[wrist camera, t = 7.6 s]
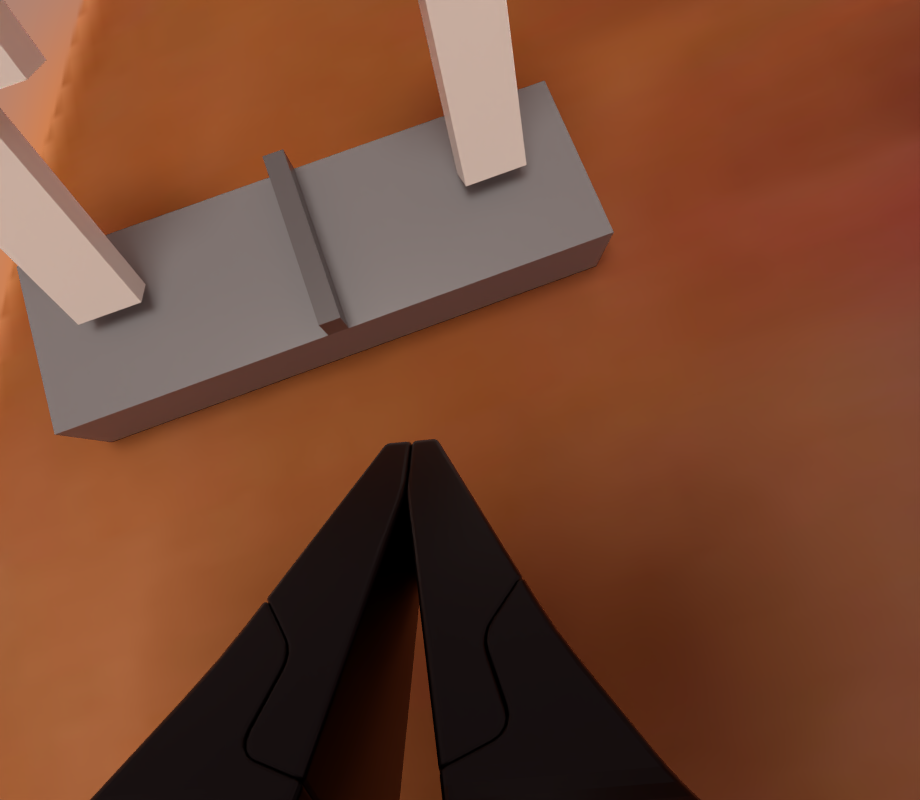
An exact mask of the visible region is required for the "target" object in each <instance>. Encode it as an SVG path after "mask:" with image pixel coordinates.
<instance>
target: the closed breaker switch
mask: <svg viewBox="0 0 920 800" xmlns="http://www.w3.org/2000/svg"><path fill="white" fill-rule="evenodd" d="M45 61H46V59H45V58H44V56H43V55H42V53H41V52H40V50H39V49H38V48H37V46H36V45H35V43H34V42H33V41H32V39H31V38H30V36H29V35H28V34H27V33H26V31H25V29H24V28H23V27H22V25H21V24H20V22H19V21H18V20H17V18H16V17H15V15H14V14H13V13H12V11H11V10H10V8H9V7H8V6H7V4H6V3H5V1H4V0H0V89H2V88H5V87H8V86H10V85H13V84H16V83H19V82H22V81H25V80H27V79H28V78H29V77H30V76H31V75H32V74H33V73H34V72H35V71H36V70H37V69H38V68H39V67H40V66H41V65H42V64H43V63H44V62H45ZM0 248H1V249H2V250H3V251H4V252H5V253H6V254H7V255H8V256H9V257H10V258H11V259H12V260H13V261H14V262H15V263H16V264H17V265H18V266H19V267H20V268H21V269H22V270H23V271H24V272H25V273H26V274H27V275H28V276H29V277H30V278H31V279H32V280H33V281H34V282H35V283H36V284H37V285H38V286H39V287H40V288H41V289H42V290H43V291H44V292H45V293H46V294H47V295H48V296H49V297H50V298H51V299H52V300H53V301H54V302H55V303H57V304H58V305H59V306H60V307H61V308H62V309H63V310H64V311H65V312H66V313H67V314H68V315H69V316H70V317H71V318H72V319H73V320H74V321H75V322H76V323H77V324H78V325H79V324H82V323H85V322H88V321H90V320H93V319H96V318H99V317H102V316H104V315H107V314H110V313H113V312H116V311H118V310H121V309H124V308H127V307H130V306H132V305H135V304H138V303H141V302H142V298H143V293H144V289H145V285H146V284H145V283H144V282H143V281H142V279H141V278H140V277H139V276H138V275H137V273H136V272H135V271H134V270H133V269H132V267H131V266H130V265H129V264H128V262H127V261H126V260H125V259H124V258H123V256H122V255H121V254H120V253H119V252H118V250H117V249H116V248H115V247H114V245H113V244H112V243H111V242H110V241H109V239H108V238H107V237H106V236H105V235H104V233H103V232H102V231H101V230H100V228H99V227H98V226H97V225H96V224H95V222H94V221H93V220H92V219H91V218H90V216H89V215H88V214H87V213H86V211H85V210H84V209H83V208H82V207H81V205H80V204H79V203H78V202H77V201H76V199H75V198H74V197H73V196H72V194H71V193H70V192H69V191H68V190H67V188H66V187H65V186H64V185H63V184H62V182H61V181H60V180H59V179H58V177H57V176H56V175H55V174H54V173H53V171H52V170H51V169H50V168H49V167H48V165H47V164H46V163H45V162H44V160H43V159H42V158H41V157H40V156H39V154H38V153H37V152H36V151H35V150H34V149H33V147H32V146H31V145H30V143H29V142H28V141H27V140H26V139H25V138H24V136H23V135H22V134H21V133H20V131H19V130H18V129H17V128H16V127H15V125H14V124H13V123H12V122H11V121H10V119H9V118H8V117H7V116H6V114H5V113H4V112H3V111H2V110H1V108H0Z"/></svg>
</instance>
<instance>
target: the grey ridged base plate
mask: <svg viewBox="0 0 920 800" xmlns="http://www.w3.org/2000/svg"><path fill="white" fill-rule="evenodd" d="M517 91H518V99H519V108H520V116H521V124H522V132H523V140H524V148H525V157H526V165H525V166H522V167H519V168H516V169H514V170H511V171H508V172H505V173H502V174H500V175H497V176H494V177H491V178H488V179H486V180H483V181H480V182H477V183H474V184H472V185H469V186H465V184H464V183H463V181H462V180H461V178H460V177H459V175H458V174H457V170H456V166H455V161H454V157H453V153H452V148H451V144H450V139H449V135H448V130H447V126H446V122H445V117H444V116H443V117H440V118H437V119H434V120H431V121H429V122H426V123H423V124H420V125H417V126H414V127H412V128H409V129H406V130H403V131H400V132H397V133H395V134H392V135H389V136H386V137H383V138H380V139H377V140H375V141H372V142H369V143H366V144H363V145H360V146H358V147H355V148H352V149H349V150H346V151H343V152H341V153H338V154H335V155H332V156H329V157H326V158H324V159H321V160H318V161H315V162H312V163H309V164H306V165H304V166H301V167H298V168H295V169H294V168H293V166H292V164H291V163H290V161H289V159H288V157H287V156H286V154H285V152H284V150H280V151H277V152H274V153H271V154H268V155H265V156H263V159H264V162H265V165H266V168H267V171H268V174H269V177H270V178H267V179H264V180H261V181H258V182H255V183H253V184H250V185H247V186H244V187H241V188H238V189H235V190H233V191H230V192H227V193H224V194H221V195H218V196H216V197H213V198H210V199H207V200H204V201H201V202H199V203H196V204H193V205H190V206H187V207H184V208H182V209H179V210H176V211H173V212H170V213H167V214H165V215H162V216H159V217H156V218H153V219H150V220H147V221H145V222H142V223H139V224H136V225H133V226H130V227H128V228H125V229H122V230H119V231H116V232H113V233H111V234H108V235H105V236H106V237H107V238H108V239H109V241H110V242H111V243H112V244H113V245H114V247H115V248H116V249H117V250H118V252H119V253H120V254H121V255H122V256H123V258H124V259H125V260H126V261H127V262H128V264H129V265H130V266H131V267H132V269H133V270H134V271H135V272H136V273H137V275H138V276H139V277H140V278H141V279H142V281H143V282H144V283H145V284H146V285H145V289H144V293H143V298H142V302H141V303H138V304H135V305H132V306H130V307H127V308H124V309H121V310H118V311H116V312H113V313H110V314H107V315H104V316H102V317H99V318H96V319H93V320H90V321H88V322H85V323H82V324H79V325H78V324H77V323H76V322H75V321H74V320H73V319H72V318H71V317H70V316H69V315H68V314H67V313H66V312H65V311H64V310H63V309H62V308H61V307H60V306H59V305H58V304H57V303H55V302H54V301H53V300H52V299H51V298H50V297H49V296H48V295H47V294H46V293H45V292H44V291H43V290H42V289H41V288H40V287H39V286H38V285H37V284H36V283H35V282H34V281H33V280H32V279H31V278H30V277H29V276H28V275H27V274H26V273H25V272H24V271H23V270H22V269H21V268H20V267H19V266H17V270H18V274H19V279H20V283H21V287H22V292H23V296H24V301H25V305H26V310H27V314H28V318H29V323H30V327H31V332H32V336H33V340H34V345H35V349H36V354H37V358H38V363H39V367H40V371H41V376H42V380H43V385H44V389H45V394H46V398H47V402H48V407H49V411H50V416H51V420H52V424H53V429H54V433H55V435H62V436H69V437H77V438H84V439H92V440H99V441H107V442H113V441H116V440H118V439H121V438H124V437H127V436H129V435H132V434H135V433H138V432H140V431H143V430H146V429H149V428H151V427H154V426H157V425H160V424H162V423H165V422H168V421H171V420H173V419H176V418H179V417H182V416H184V415H187V414H190V413H193V412H195V411H198V410H201V409H204V408H206V407H209V406H212V405H215V404H217V403H220V402H223V401H226V400H228V399H231V398H234V397H237V396H239V395H242V394H245V393H248V392H250V391H253V390H256V389H259V388H261V387H264V386H267V385H270V384H272V383H275V382H278V381H281V380H283V379H286V378H289V377H292V376H294V375H297V374H300V373H303V372H305V371H308V370H311V369H314V368H316V367H319V366H322V365H325V364H327V363H330V362H333V361H336V360H338V359H341V358H344V357H347V356H349V355H352V354H355V353H358V352H360V351H363V350H366V349H369V348H371V347H374V346H377V345H380V344H382V343H385V342H388V341H391V340H393V339H396V338H399V337H402V336H404V335H407V334H410V333H413V332H415V331H418V330H421V329H424V328H426V327H429V326H432V325H435V324H437V323H440V322H443V321H446V320H448V319H451V318H454V317H457V316H459V315H462V314H465V313H468V312H470V311H473V310H476V309H479V308H481V307H484V306H487V305H490V304H492V303H495V302H498V301H501V300H503V299H506V298H509V297H512V296H514V295H517V294H520V293H523V292H525V291H528V290H531V289H534V288H536V287H539V286H542V285H545V284H547V283H550V282H553V281H556V280H558V279H561V278H564V277H567V276H569V275H572V274H575V273H578V272H580V271H583V270H586V269H589V268H591V267H594V266H596V265H597V263H598V261H599V259H600V257H601V255H602V253H603V252H604V250H605V248H606V246H607V244H608V242H609V240H610V238H611V236H612V234H613V230H612V227H611V225H610V223H609V221H608V219H607V217H606V214H605V212H604V210H603V208H602V206H601V203H600V201H599V199H598V197H597V195H596V192H595V190H594V188H593V186H592V184H591V181H590V179H589V177H588V175H587V173H586V170H585V168H584V166H583V164H582V162H581V160H580V157H579V155H578V153H577V151H576V149H575V146H574V144H573V142H572V140H571V138H570V135H569V133H568V131H567V129H566V127H565V124H564V122H563V120H562V118H561V116H560V113H559V111H558V109H557V107H556V105H555V103H554V100H553V98H552V96H551V94H550V92H549V89H548V87H547V85H546V83H545V81H542V82H539V83H536V84H534V85H531V86H528V87H525V88H522V89H519V90H517Z"/></svg>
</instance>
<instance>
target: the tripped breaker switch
mask: <svg viewBox="0 0 920 800" xmlns="http://www.w3.org/2000/svg"><path fill="white" fill-rule="evenodd" d="M418 2H419V7H420V11H421V16H422V20H423V25H424V29H425V33H426V38H427V42H428V47H429V51H430V55H431V60H432V64H433V69H434V73H435V78H436V82H437V86H438V91H439V95H440V100H441V104H442V108H443V113H444V117H445V122H446V126H447V130H448V135H449V139H450V144H451V148H452V153H453V157H454V161H455V166H456V170H457V174H458V175H459V177H460V178H461V180H462V181H463V183H464V184H465V186H469V185H472V184H474V183H477V182H480V181H483V180H486V179H488V178H491V177H494V176H497V175H500V174H502V173H505V172H508V171H511V170H514V169H516V168H519V167H522V166H525V165H526V157H525V148H524V140H523V132H522V124H521V116H520V108H519V99H518V91H517V83H516V75H515V67H514V59H513V50H512V42H511V34H510V26H509V18H508V10H507V2H506V0H418Z"/></svg>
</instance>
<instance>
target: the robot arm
mask: <svg viewBox="0 0 920 800" xmlns="http://www.w3.org/2000/svg"><path fill="white" fill-rule="evenodd" d="M267 601H268V603H269V604H268V603H267V602H265V603H263V604H262V605H261V607H260V608H259V609H258V611H257V612H256V613H255V615H254V616H253V617H252V618H251V620H250V621H249V622H248V624H247V625H246V626H245V627H244V629H243V630H242V631H241V632H240V633H239V635H238V636H237V637H236V638H235V640H234V641H233V642H232V643H231V645H230V646H229V647H228V648H227V650H226V651H225V652H224V653H223V654H222V656H221V657H220V658H219V659H218V660H217V662H216V663H215V664H214V665H213V666H212V667H211V668H210V669H209V671H208V672H207V673H206V674H205V675H204V676H203V677H202V679H201V680H200V681H199V682H198V683H197V684H196V685H195V686H194V688H193V689H192V690H191V691H190V692H189V693H188V694H187V695H186V697H185V698H184V699H183V700H182V701H181V702H180V703H179V704H178V705H177V706H176V707H175V709H174V710H173V711H172V712H171V713H170V714H169V715H168V716H167V717H166V718H165V719H164V720H163V722H162V723H161V724H160V725H159V726H158V727H157V728H156V729H155V730H154V731H153V732H152V733H151V735H150V736H149V737H148V738H147V739H146V740H145V741H144V742H143V743H142V744H141V745H140V746H139V748H138V749H137V750H136V751H135V752H134V753H133V754H132V755H131V756H130V757H129V758H128V759H127V761H126V762H125V763H124V764H123V765H122V766H121V767H120V768H119V769H118V770H117V771H116V772H115V774H114V775H113V776H112V777H111V778H110V779H109V780H108V781H107V782H106V783H105V784H104V785H103V787H102V788H101V789H100V790H99V791H98V792H97V793H96V794H95V795H94V796H93V797H92V798H91V799H90V800H399V799H400V789H401V779H402V769H403V759H404V749H405V739H406V729H407V719H408V709H409V699H410V689H411V679H412V669H413V659H414V649H415V639H416V629H417V619H418V609H419V605H420V614H421V622H422V631H423V639H424V648H425V656H426V664H427V673H428V681H429V690H430V698H431V707H432V715H433V724H434V732H435V740H436V749H437V757H438V766H439V770H440V783H441V791H442V800H700V799H699V798H698V797H697V796H696V795H695V794H694V793H693V792H692V791H691V790H690V789H689V788H688V787H687V786H686V785H685V784H684V783H683V782H682V781H681V780H680V779H679V778H678V777H677V776H676V775H675V774H674V773H673V772H672V771H671V769H670V768H669V767H668V766H667V765H666V764H665V763H664V762H663V760H662V759H661V758H660V757H659V756H658V755H657V753H656V752H655V751H654V750H653V749H652V747H651V746H650V745H649V744H648V743H647V741H646V740H645V739H644V738H643V736H642V735H641V734H640V733H639V732H638V730H637V729H636V728H635V727H634V725H633V724H632V723H631V722H630V721H629V719H628V718H627V717H626V716H625V715H624V713H623V712H622V711H621V710H620V708H619V707H618V706H617V705H616V704H615V702H614V701H613V700H612V699H611V697H610V696H609V695H608V694H607V693H606V691H605V690H604V689H603V688H602V686H601V685H600V684H599V683H598V682H597V680H596V679H595V678H594V677H593V675H592V674H591V673H590V672H589V671H588V669H587V668H586V667H585V666H584V664H583V663H582V662H581V661H580V659H579V658H578V657H577V655H576V654H575V653H574V652H573V650H572V649H571V648H570V646H569V645H568V644H567V642H566V641H565V640H564V638H563V637H562V636H561V635H560V633H559V632H558V631H557V629H556V628H555V626H554V625H553V623H552V622H551V620H550V619H549V617H548V616H547V614H546V613H545V611H544V610H543V608H542V607H541V605H540V604H539V602H538V601H537V599H536V598H535V596H534V594H533V593H532V591H531V590H530V588H529V586H528V585H527V583H526V582H525V580H523V579H522V576H521V574H520V572H519V571H518V569H517V568H516V566H515V564H514V563H513V561H512V559H511V558H510V556H509V555H508V553H507V551H506V550H505V548H504V547H503V545H502V543H501V542H500V540H499V538H498V537H497V535H496V534H495V532H494V530H493V529H492V527H491V525H490V524H489V522H488V521H487V519H486V517H485V516H484V514H483V513H482V511H481V509H480V508H479V506H478V504H477V503H476V501H475V500H474V498H473V496H472V495H471V493H470V492H469V490H468V488H467V487H466V485H465V483H464V482H463V480H462V479H461V477H460V475H459V474H458V472H457V470H456V469H455V467H454V466H453V464H452V462H451V461H450V459H449V458H448V456H447V454H446V453H445V451H444V449H443V448H442V446H441V445H440V443H439V442H438V441H437V440H435V439H431V440H420V441H415V442H414V443H413V444H411V443H410V442H399V443H390V444H387V445H385V446H384V448H383V449H382V450H381V452H380V453H379V454H378V455H377V457H376V458H375V459H374V461H373V462H372V463H371V465H370V466H369V467H368V468H367V470H366V471H365V472H364V474H363V475H362V476H361V477H360V479H359V480H358V481H357V483H356V484H355V485H354V487H353V488H352V489H351V490H350V492H349V493H348V494H347V496H346V497H345V498H344V500H343V501H342V502H341V503H340V505H339V506H338V507H337V509H336V510H335V511H334V512H333V514H332V515H331V516H330V518H329V519H328V520H327V522H326V523H325V524H324V525H323V527H322V528H321V529H320V531H319V532H318V533H317V535H316V536H315V537H314V538H313V540H312V541H311V542H310V544H309V545H308V546H307V547H306V549H305V550H304V551H303V553H302V554H301V555H300V557H299V558H298V559H297V560H296V562H295V563H294V564H293V566H292V567H291V568H290V570H289V571H288V572H287V573H286V575H285V576H284V577H283V579H282V580H281V581H280V582H279V584H278V585H277V586H276V588H275V589H274V590H273V592H272V593H271V594H270V595H269V597H268V598H267Z"/></svg>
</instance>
